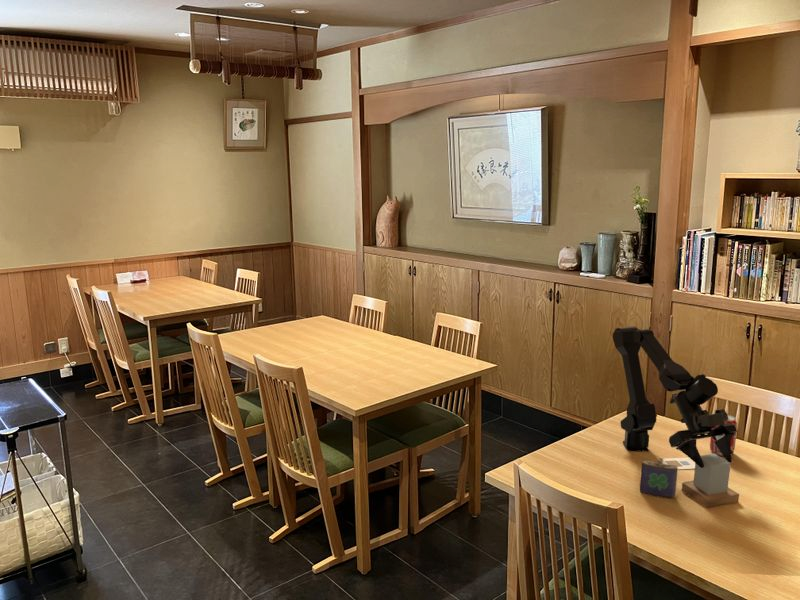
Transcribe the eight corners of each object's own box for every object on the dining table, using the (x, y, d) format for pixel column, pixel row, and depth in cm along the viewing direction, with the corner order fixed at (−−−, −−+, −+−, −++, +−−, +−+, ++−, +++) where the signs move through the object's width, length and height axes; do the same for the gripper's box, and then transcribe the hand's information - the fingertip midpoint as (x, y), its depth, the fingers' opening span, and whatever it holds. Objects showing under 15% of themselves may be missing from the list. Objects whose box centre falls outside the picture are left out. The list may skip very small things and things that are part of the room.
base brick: (681, 492, 182) (682, 482, 181) (710, 486, 185) (711, 477, 184) (708, 510, 173) (709, 500, 172) (738, 504, 176) (739, 494, 175)
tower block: (693, 484, 180) (696, 456, 178) (711, 481, 182) (714, 453, 180) (708, 495, 175) (711, 465, 173) (727, 492, 176) (730, 463, 174)
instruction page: (668, 470, 194) (668, 469, 193) (657, 459, 200) (657, 458, 200) (700, 468, 194) (700, 467, 194) (688, 458, 201) (688, 457, 201)
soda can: (728, 448, 208) (732, 412, 205) (737, 458, 201) (741, 421, 198) (705, 447, 209) (709, 412, 206) (713, 457, 202) (717, 421, 199)
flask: (675, 495, 179) (678, 459, 177) (675, 500, 177) (678, 463, 174) (639, 489, 183) (642, 453, 180) (639, 494, 180) (641, 458, 178)
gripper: (679, 403, 174) (706, 459, 166) (736, 395, 179) (764, 449, 171) (657, 419, 183) (681, 473, 175) (711, 412, 188) (737, 464, 180)
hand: (716, 465), depth 175 cm, fingers open, 9 cm apart
